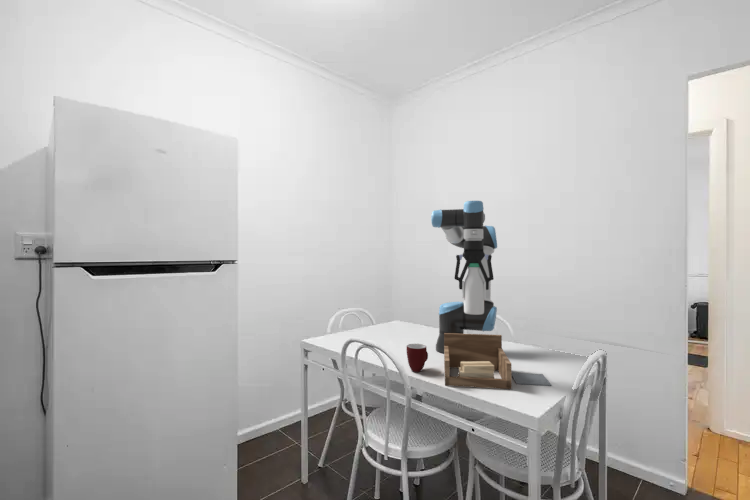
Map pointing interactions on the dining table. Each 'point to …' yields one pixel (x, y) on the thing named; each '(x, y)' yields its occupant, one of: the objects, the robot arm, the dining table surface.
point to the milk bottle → (473, 291)
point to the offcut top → (477, 367)
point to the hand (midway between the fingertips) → (473, 297)
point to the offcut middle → (475, 374)
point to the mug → (417, 356)
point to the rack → (476, 359)
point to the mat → (530, 379)
